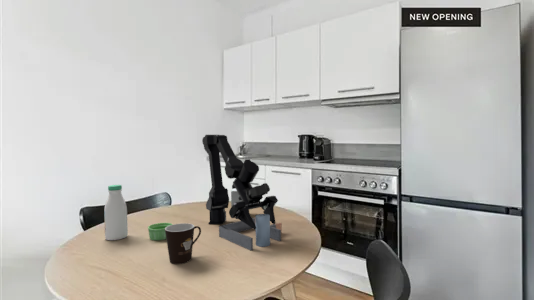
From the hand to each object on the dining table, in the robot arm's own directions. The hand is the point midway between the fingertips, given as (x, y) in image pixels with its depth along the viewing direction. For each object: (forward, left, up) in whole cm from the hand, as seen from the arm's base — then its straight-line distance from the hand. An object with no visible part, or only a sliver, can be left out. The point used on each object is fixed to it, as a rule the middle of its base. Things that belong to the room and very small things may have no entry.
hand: (265, 226), depth 100 cm
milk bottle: (-58, +7, -7) cm, 59 cm away
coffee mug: (-24, -12, -7) cm, 28 cm away
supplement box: (-16, +40, -7) cm, 43 cm away
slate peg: (-1, +1, -7) cm, 7 cm away
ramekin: (-41, +8, -7) cm, 42 cm away
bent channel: (-4, +9, -7) cm, 12 cm away
